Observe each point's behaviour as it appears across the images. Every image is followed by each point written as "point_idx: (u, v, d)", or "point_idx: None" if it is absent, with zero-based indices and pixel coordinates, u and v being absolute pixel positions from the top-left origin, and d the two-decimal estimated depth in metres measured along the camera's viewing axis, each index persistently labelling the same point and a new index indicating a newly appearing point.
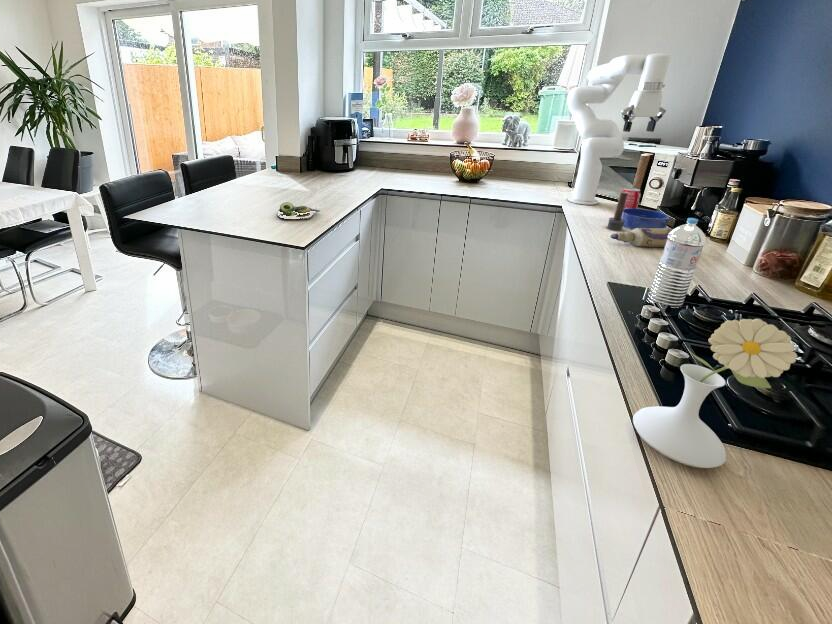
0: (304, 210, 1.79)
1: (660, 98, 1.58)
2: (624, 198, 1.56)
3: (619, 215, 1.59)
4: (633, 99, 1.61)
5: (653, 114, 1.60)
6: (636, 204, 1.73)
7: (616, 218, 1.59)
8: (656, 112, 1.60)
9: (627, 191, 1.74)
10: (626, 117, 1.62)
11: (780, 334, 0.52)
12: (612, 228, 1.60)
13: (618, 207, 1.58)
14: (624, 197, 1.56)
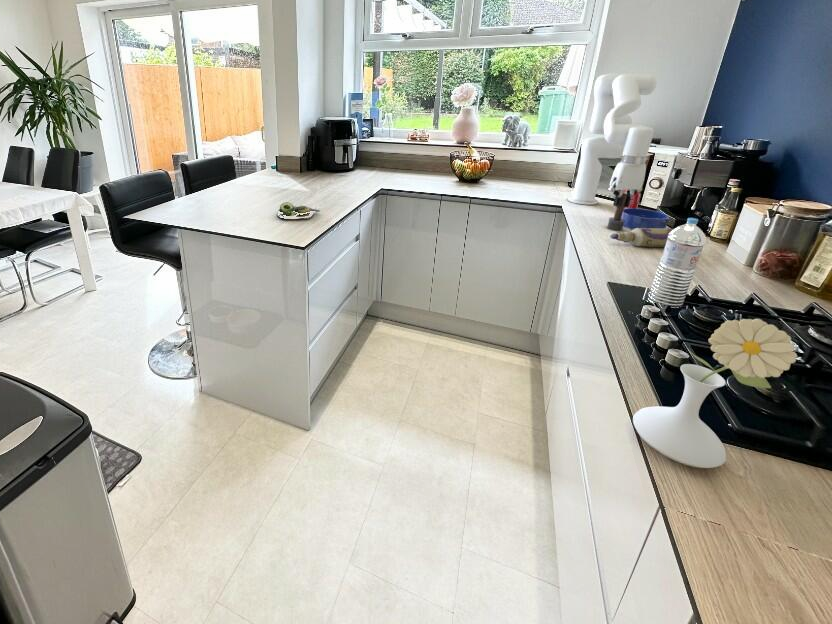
0: (304, 210, 1.79)
1: (644, 172, 1.51)
2: (624, 198, 1.56)
3: (619, 215, 1.59)
4: (616, 172, 1.54)
5: (637, 187, 1.54)
6: (636, 204, 1.73)
7: (616, 218, 1.59)
8: (640, 185, 1.53)
9: None
10: (616, 193, 1.56)
11: (781, 334, 0.52)
12: (612, 228, 1.60)
13: (618, 207, 1.58)
14: (624, 197, 1.56)
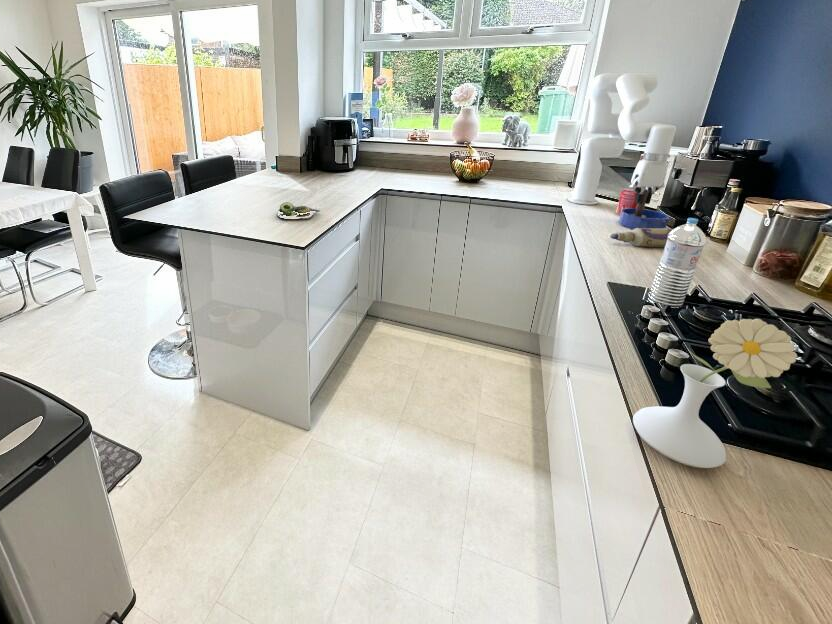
0: (304, 210, 1.79)
1: (665, 169, 1.54)
2: (646, 194, 1.59)
3: (640, 211, 1.61)
4: (637, 169, 1.57)
5: (658, 184, 1.56)
6: (636, 204, 1.73)
7: (637, 214, 1.62)
8: (661, 182, 1.56)
9: (627, 191, 1.74)
10: (638, 190, 1.58)
11: (781, 334, 0.52)
12: None
13: None
14: (646, 193, 1.59)
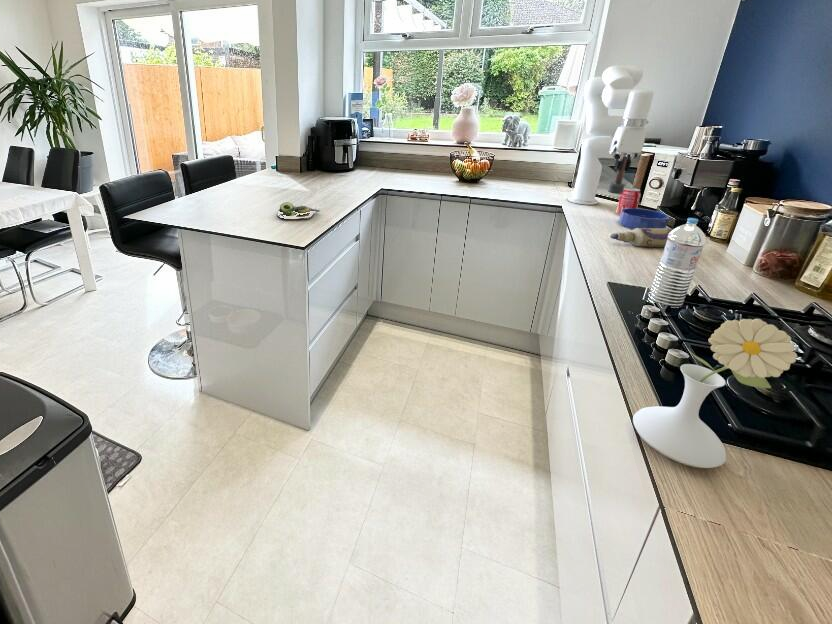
0: (304, 210, 1.79)
1: (644, 135, 1.55)
2: (625, 161, 1.59)
3: (620, 178, 1.62)
4: (616, 135, 1.57)
5: (637, 150, 1.57)
6: (636, 204, 1.73)
7: (617, 181, 1.63)
8: (640, 149, 1.57)
9: (627, 191, 1.74)
10: (617, 156, 1.59)
11: (781, 334, 0.52)
12: (613, 191, 1.63)
13: None
14: (625, 160, 1.59)
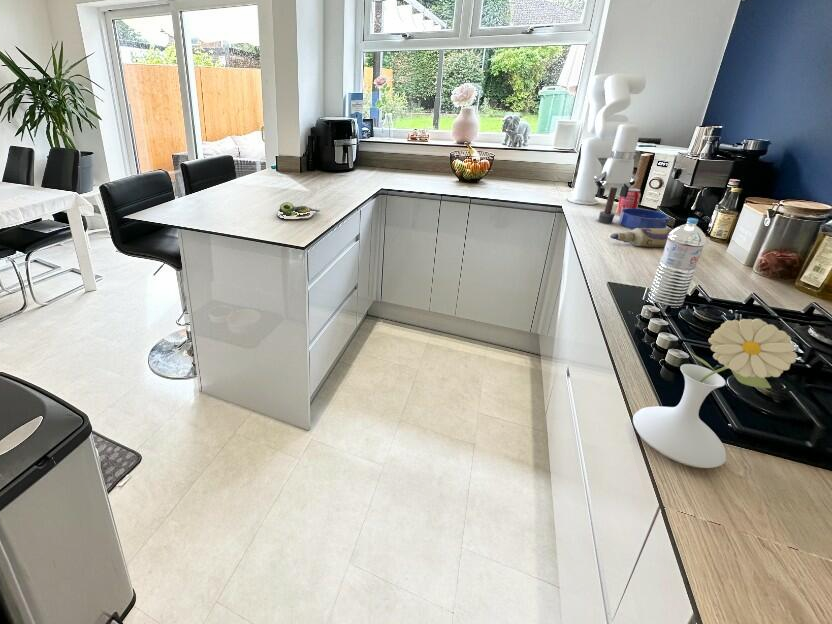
0: (304, 210, 1.79)
1: (632, 166, 1.60)
2: (614, 192, 1.64)
3: (609, 209, 1.67)
4: (606, 167, 1.62)
5: (625, 181, 1.62)
6: (636, 204, 1.73)
7: (606, 212, 1.68)
8: (628, 180, 1.62)
9: None
10: (599, 184, 1.64)
11: (781, 334, 0.52)
12: (603, 221, 1.68)
13: (608, 201, 1.66)
14: (614, 192, 1.64)
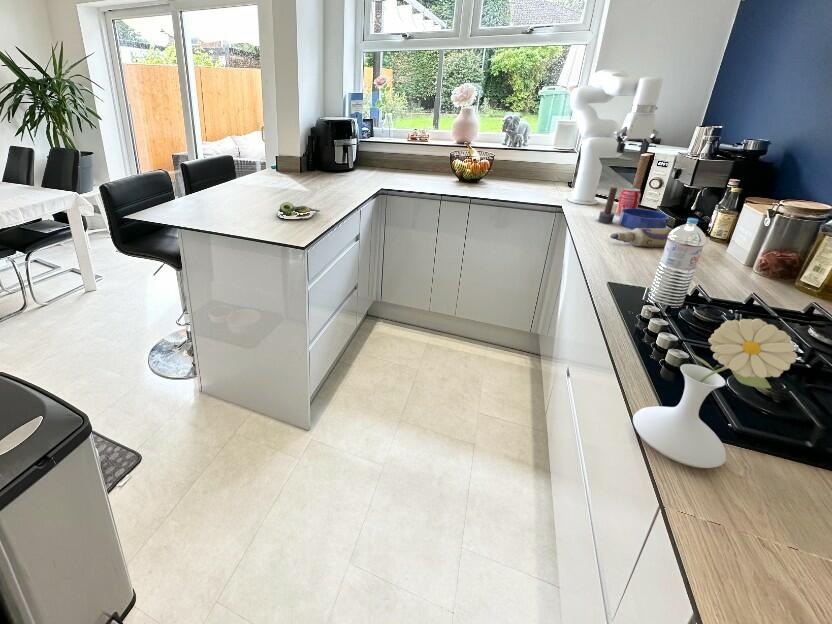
0: (304, 210, 1.79)
1: (653, 120, 1.59)
2: (614, 192, 1.64)
3: (609, 209, 1.67)
4: (626, 121, 1.62)
5: (646, 136, 1.61)
6: (636, 204, 1.73)
7: (606, 212, 1.68)
8: (649, 134, 1.61)
9: (627, 191, 1.74)
10: (619, 139, 1.63)
11: (781, 334, 0.52)
12: (603, 221, 1.68)
13: (608, 201, 1.66)
14: (614, 192, 1.64)
